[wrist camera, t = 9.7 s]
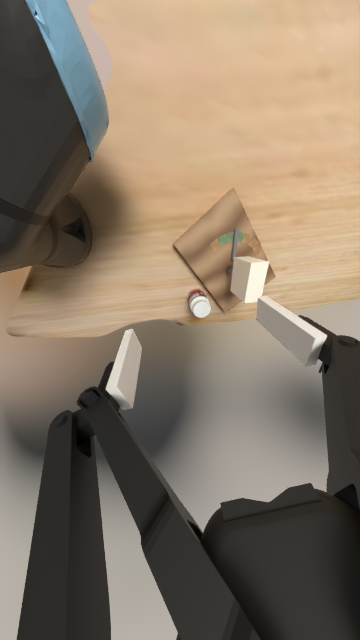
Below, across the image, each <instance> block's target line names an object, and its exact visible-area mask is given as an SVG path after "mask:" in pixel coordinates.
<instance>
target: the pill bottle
mask: <svg viewBox="0 0 360 640" xmlns="http://www.w3.org/2000/svg"><path fill="white" fill-rule="evenodd" d="M187 300H188V303H189V306H190V309H191V311H192V312H193V313H194V315H195V316H197V317H199V318H203V317H206V316H207V315H208V314H209V313H210V311H211V307H210V302H209V300H208V298H207V297H206V295H205V294H204V293H203V291H202V290H200V289H193V290H191V291H190V292H189V293H188V295H187Z"/></svg>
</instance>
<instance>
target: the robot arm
mask: <svg viewBox="0 0 360 640" xmlns="http://www.w3.org/2000/svg"><path fill="white" fill-rule="evenodd" d="M108 124H109V119H108V107H107V101H106V97H105V94H104V90H103V87H102V84H101V81H100V79H99V76H98V73H97V71H96V68H95V65H94V63H93V60H92V58H91V55H90V53H89V51H88V48H87V46H86V43H85V41H84V39H83V36H82V35H81V32H80V30H79V27H78V25H77V23H76V21H75V18H74V16H73V14H72V12H71V9H70V7H69V5H68V3H67V1H66V0H0V273H2V272H6V271H10V270H15V269H19V268H23V267H27V266H32V265H36V264H43V265H46V266H50V267H69V266H72V265H75V264H78V263H79V262H81V261H82V260H84V259H85V258H86V256H87V255H88V253H89V251H90V249H91V245H92V232H91V227H90V223H89V221H88V218H87V216H86V214H85V212H84V210H83V209H82V207H81V206H80V204H79V203H78V202H77V201H76V199H75V198H74V197H73V196H72V195H71V194H70V193H69V190H70V189H71V187H72V186H73V184H74V183H75V181H76V180H77V178H78V177H79V175H80V174H81V172H82V171H83V169H84V168H85V166H86V165H87V163H88V162H92V161H93V159H94V153H95V151H96V149H97V147H98V146H99V144H100V142H101V141H102V139H103V137H104V135H105V134H106V132H107V128H108ZM256 320H257V321H258V322H259V323H260V324H261V325H262V326H264V328H266V330H268V331H269V332H270V333H271V334H272V335H273V336H274V337H275V338H276V339H277V340H278V341H279V342H280V343H281V344H282V345H283V346H284V347H285V348H286V349H287V350H289V351H290V352H291V353H292V354H293V355H294V356H295V357H296V358H297V359H298V360H299V361H300V362H301V363H302V364H303V365H304V366H305V367H306V366H310V365H315V364H316V363H317V360H318V359H320V360H321V361H322V362H323V363H322V365H321V367H320V370H319V373H321V371H322V380H323V394H324V407H325V420H326V435H327V448H328V462H329V474H328V478H327V492H324V491H321V490H318V489H314V488H313V486H312V484H311V483H308V484H304V485H300V486H295V487H290V488H288V489H286V490H285V491H284V492H282V493H281V494H280V495H279V496H277V497H276V498H275V499H274V500H272V501H271V502H262V501H256V500H250V499H244V498H241V499H236V500H231V501H227V502H222V503H221V508H220V509H218V510H217V511H216V512H215V513H214V514H213V515H212V517H211V518H210V520H209V521H208V523H207V525H206V527H205V530H204V532H202V531H201V529H200V528H199V526H198V525H197V524H196V522H195V520H194V519H193V518H192V516H191V515H190V513H189V512H188V511H187V509H186V508H185V507H184V506H183V504H182V503H181V502H180V501H179V499H178V497H177V496H176V494H175V493H174V492H173V490H172V489H171V487H170V486H169V484H168V483H167V481H166V480H165V478H164V477H163V475H162V474H161V472H160V471H159V470H158V468H157V467H156V465H155V464H154V462H153V461H152V460H151V458H150V457H149V455H148V454H147V452H146V451H145V449H144V448H143V446H142V445H141V443H140V442H139V441H138V439H137V438H136V436H135V435H134V433H133V432H132V431H131V429H130V427H129V426H128V425H127V423H126V422H125V420H124V419H123V418H122V416H121V414H120V413H119V408H120V407H121V408H122V409H123V410H126V409H130V408H133V404H134V398H135V391H136V384H137V377H138V371H139V365H140V358H141V352H142V347H141V345H140V343H139V341H138V339H137V337H136V335H135V333H134V330H133V329H130V330H126V331H125V334H124V336H123V340H122V342H121V346H120V348H119V351H118V354H117V357H116V360H115V362H110V363H109V364H108V366H107V367H106V369H105V371H104V375H103V377H102V379H101V382H100V384H99V387H98V388H97V387H90V388H88V389H86V390H85V391H84V392H83V393H81V395H80V396H79V398H78V400H77V405H79V406H80V407H81V409H80V410H78V411H76V412H74V413H72V412H71V411H69V410H67V411H64V412H62V413H60V414H59V415H58V416H57V417H56V418H55V419H54V420H53V421H52V423H51V424H50V427H49V432H48V438H47V445H46V452H45V458H44V465H43V471H42V478H41V485H40V490H39V497H38V504H37V510H36V517H35V523H34V530H33V536H32V543H31V550H30V556H29V563H28V569H27V576H26V583H25V589H24V595H23V602H22V608H21V615H20V621H19V628H18V635H17V640H111V623H110V606H109V593H108V583H107V572H106V561H105V551H104V541H103V530H102V519H101V509H100V498H99V488H98V477H97V466H96V456H95V445H94V435H96V437H97V439H98V441H99V444H100V446H101V448H102V450H103V452H104V455H105V456H106V459H107V461H108V463H109V466H110V468H111V470H112V472H113V474H114V476H115V479H116V481H117V483H118V485H119V488H120V490H121V492H122V494H123V496H124V499H125V501H126V503H127V505H128V507H129V510H130V512H131V514H132V516H133V518H134V520H135V523H136V525H137V527H138V529H139V532H140V535H141V545H142V549H143V552H144V555H145V558H146V560H147V562H148V565H149V567H150V569H151V572H152V574H153V576H154V578H155V581H156V583H157V585H158V588H159V590H160V592H161V595H162V597H163V599H164V602H165V604H166V606H167V608H168V611H169V613H170V615H171V617H172V620H173V622H174V625H175V627H176V629H177V631H178V635H177V639H176V640H360V341H358V340H357V339H355V338H352V337H349V336H342V335H339V336H337V335H335V334H333V333H332V332H330V331H329V330H327V329H326V328H324V327H322V326H321V325H319V324H317V323H316V322H314V321H312V320H311V319H309V318H307V317H304V316H301V315H300V316H296V315H295V314H293V313H292V312H290V311H288V310H287V309H285V308H284V307H282V306H281V305H279V304H278V303H276V302H274V301H273V300H271V299H270V298H268V297H267V296H262V297H258V302H257V318H256Z"/></svg>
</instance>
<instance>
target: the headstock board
mask: <svg viewBox="0 0 360 640" xmlns="http://www.w3.org/2000/svg"><path fill="white" fill-rule="evenodd" d="M238 228H239V233H238V242H237V250H236V257H245V256H250V257H253V258H257V259H261V260H265V261H268V259H267V257H266V255H265V253H264V251H263V249H262V247H261V245H260V242H259V240H258V238H257V236H256V234H255V232H254V230H253V227H252V225H251V223H250V221H249V219H248V217H247V215H246V213H245V210H244V208H243V206H242V204H241V202H240V200H239V198H238V195H237V193H236V191H235V189H234V188H232V189H231V190H230V191H229V192H228V193H226V194H225V195H224V196H223V197H222V198H221V199H220V200H219V201H218V202H217V203H216V204H215V205H214V206H213V207H212V208H211V209H209V210H208V211H207V212H206V213H205V214H204V215H203V216H202V217H201V218H200V219H199V220H198V221H197V222H196V223H195V224H194V225H193V226H191V227H190V228H189V229H188V230H187V231H186V232H185V233H184V234H183V235H182V236H181V237H180V238H179V239H178V240H177V241H176V242H174V243H173V244H174V245H175V247H176V248H177V249H178V251H179V252H180V253H181V255H182V256H183V257H184V259H185V260H186V261H187V263H188V264H189V265H190V267H191V268H192V269H193V271H194V272H195V273H196V275H197V276H198V277H199V279H200V280H201V281H202V283H203V284H204V285H205V287H206V288H207V289H208V291H209V292H210V293H211V295H212V296H213V297H214V298H215V300H216V301H217V302H218V304H219V305H220V306H221V308H222V309H223V310H224V312H227V311H228V310H230V309H231V308H232V307H234V306H235V305H237V304H238V303H239V302H241V301H242V300H240V299H239V298H238V297H237V296H236V295H235V294H233V293H232V292H231V291H230V289H231V280H232V277H231V276H229V275H228V274H227V268H228V267H229V266H230V265H233V262H234V260H232V250H233V241H234V232H235V229H238ZM274 278H275V274H274V272H273V270H272V268H271V266H270V264H269V265H268V269H267V274H266V278H265V283H264V285H265V284H267V283H268V282H269V281H271V280H272V279H274Z"/></svg>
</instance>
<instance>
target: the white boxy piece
mask: <svg viewBox="0 0 360 640" xmlns="http://www.w3.org/2000/svg"><path fill="white" fill-rule="evenodd" d="M238 233H239V228H238V229H235V232H234V241H233V250H232V260H234V262H233V265H230V266H229V267H228V268H227V274H228V275H229V276H231V277H232V280H231V289H230V291H231V292H232V293H233V294H235V295H236V296H237V297H238V298H239V299H240V300H242V301H243V302H244V303H250V302H258V297H261V296H262V292H263V287H264V283H265V278H266V274H267V269H268V265H269V261H265V260H261V259H257V258H253V257H250V256H245V257H236V250H237V242H238Z"/></svg>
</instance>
